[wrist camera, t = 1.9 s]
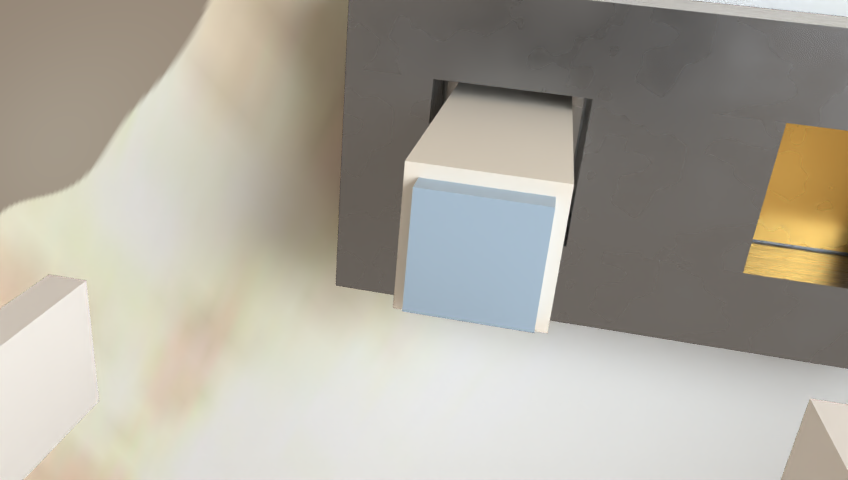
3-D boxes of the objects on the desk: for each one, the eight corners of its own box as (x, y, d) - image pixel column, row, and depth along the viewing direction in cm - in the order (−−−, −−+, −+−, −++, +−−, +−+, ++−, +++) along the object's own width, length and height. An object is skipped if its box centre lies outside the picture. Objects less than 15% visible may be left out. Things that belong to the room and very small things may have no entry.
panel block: (1035, 37, 27) (1119, 57, 23) (916, 328, 32) (968, 388, 27) (379, -34, 30) (350, -26, 26) (363, 242, 35) (335, 285, 30)
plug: (572, 93, 29) (574, 194, 18) (554, 198, 31) (546, 348, 20) (460, 79, 30) (398, 169, 19) (449, 184, 32) (386, 321, 21)
